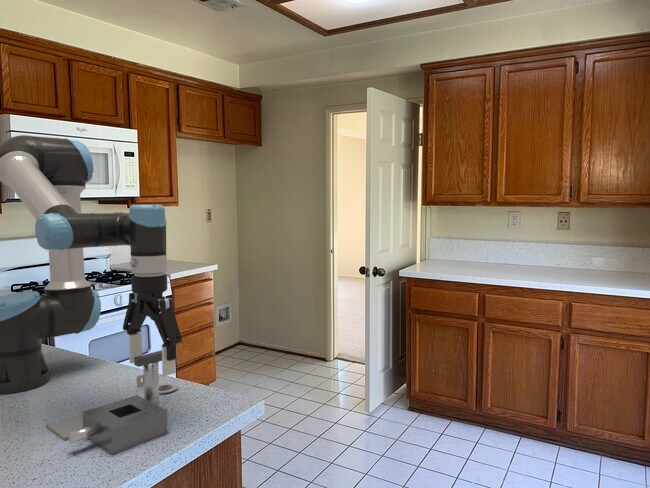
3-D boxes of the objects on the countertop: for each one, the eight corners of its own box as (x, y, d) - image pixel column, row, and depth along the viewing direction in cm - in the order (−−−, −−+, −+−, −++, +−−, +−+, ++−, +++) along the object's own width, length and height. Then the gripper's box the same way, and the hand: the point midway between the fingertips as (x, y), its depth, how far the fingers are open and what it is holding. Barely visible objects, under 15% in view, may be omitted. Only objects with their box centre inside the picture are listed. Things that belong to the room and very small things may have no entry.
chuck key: (141, 420, 111) (140, 359, 110) (133, 416, 113) (132, 356, 112) (169, 410, 116) (168, 352, 115) (161, 407, 118) (160, 349, 117)
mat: (46, 427, 107) (46, 424, 107) (88, 413, 114) (88, 411, 114) (64, 440, 102) (64, 437, 101) (108, 425, 108) (107, 422, 108)
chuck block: (57, 444, 100) (56, 419, 100) (137, 416, 113) (136, 394, 113) (85, 465, 92) (84, 438, 92) (167, 433, 105) (167, 409, 105)
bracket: (162, 398, 125) (162, 384, 124) (136, 389, 130) (136, 376, 130) (183, 390, 130) (183, 376, 130) (157, 382, 136) (157, 369, 135)
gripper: (105, 271, 117) (108, 360, 119) (166, 281, 101) (168, 385, 103) (135, 267, 123) (138, 353, 124) (197, 277, 107) (199, 375, 108)
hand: (151, 367), depth 114 cm, fingers open, 13 cm apart
